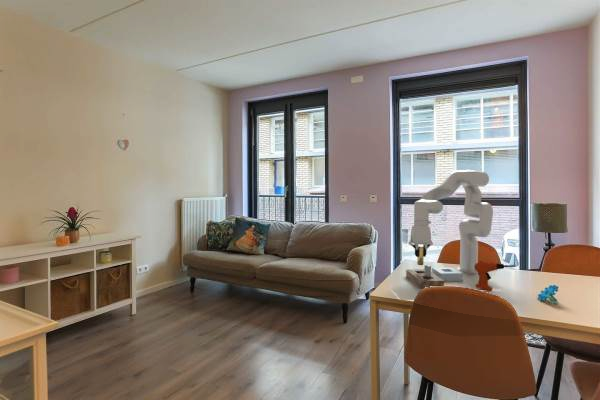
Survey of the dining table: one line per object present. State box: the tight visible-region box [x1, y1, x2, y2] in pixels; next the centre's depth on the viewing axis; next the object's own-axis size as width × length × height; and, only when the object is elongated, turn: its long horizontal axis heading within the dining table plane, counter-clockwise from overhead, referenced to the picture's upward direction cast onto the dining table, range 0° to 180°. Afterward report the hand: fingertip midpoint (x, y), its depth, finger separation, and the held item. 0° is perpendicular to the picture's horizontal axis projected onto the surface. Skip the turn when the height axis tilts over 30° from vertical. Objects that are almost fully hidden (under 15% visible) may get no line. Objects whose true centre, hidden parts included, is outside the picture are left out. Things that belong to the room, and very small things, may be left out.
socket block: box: [431, 266, 464, 282], centre depth 193 cm, size 12×12×5 cm
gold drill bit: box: [416, 245, 425, 266], centre depth 189 cm, size 3×3×10 cm
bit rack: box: [405, 268, 445, 290], centre depth 185 cm, size 12×22×5 cm, turn 1°
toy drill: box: [474, 260, 516, 292], centre depth 173 cm, size 5×19×15 cm, turn 64°
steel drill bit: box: [424, 264, 432, 279], centre depth 179 cm, size 3×3×10 cm
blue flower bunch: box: [537, 284, 559, 305], centre depth 157 cm, size 11×6×10 cm
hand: (420, 256), depth 189 cm, fingers closed on gold drill bit, 3 cm apart
